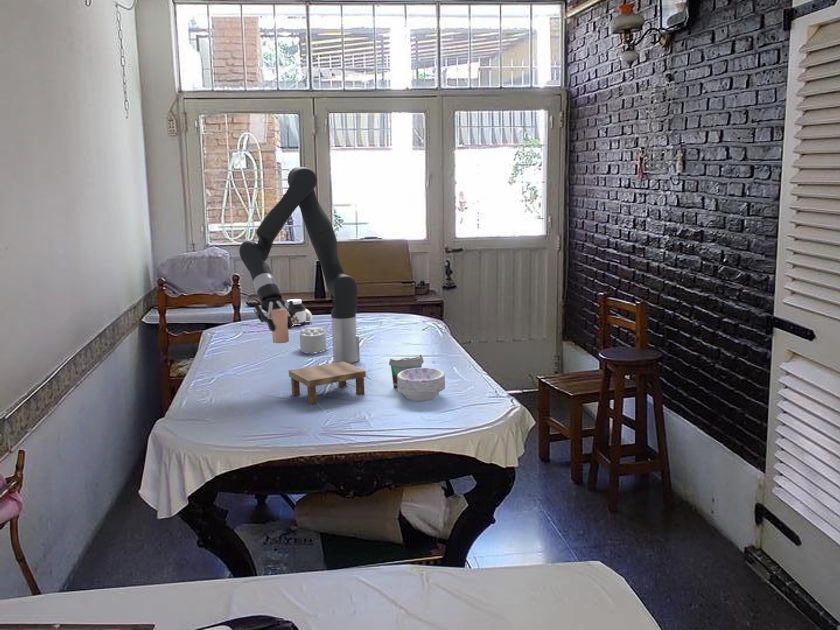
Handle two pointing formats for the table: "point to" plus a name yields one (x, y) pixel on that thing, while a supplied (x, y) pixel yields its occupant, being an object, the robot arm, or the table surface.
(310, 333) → the lumpy-topped squat cylinder
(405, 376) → the paper bowls
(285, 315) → the peach rounded cylinder
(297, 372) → the footstool
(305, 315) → the spread jar
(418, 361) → the food container
